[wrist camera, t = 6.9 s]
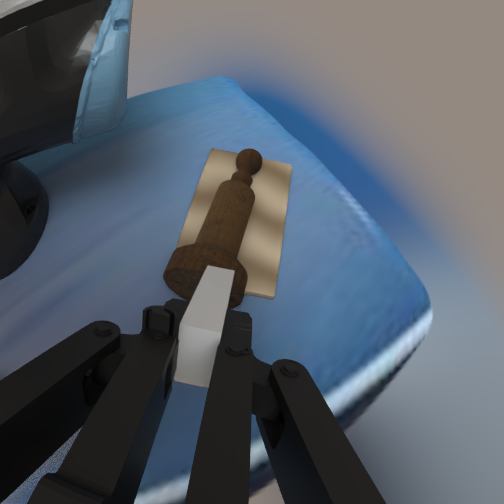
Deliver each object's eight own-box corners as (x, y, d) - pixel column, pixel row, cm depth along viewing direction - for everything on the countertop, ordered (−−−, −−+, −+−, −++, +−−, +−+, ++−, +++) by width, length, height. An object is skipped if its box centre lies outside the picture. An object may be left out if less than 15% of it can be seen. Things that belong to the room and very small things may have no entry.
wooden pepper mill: (168, 256, 21) (235, 122, 31) (158, 290, 26) (217, 161, 36) (254, 292, 22) (289, 148, 32) (227, 317, 27) (266, 184, 38)
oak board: (272, 299, 29) (274, 296, 28) (169, 277, 28) (168, 273, 28) (290, 169, 37) (292, 165, 36) (211, 152, 37) (211, 148, 36)
